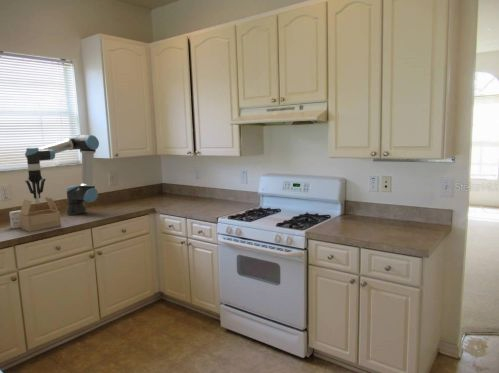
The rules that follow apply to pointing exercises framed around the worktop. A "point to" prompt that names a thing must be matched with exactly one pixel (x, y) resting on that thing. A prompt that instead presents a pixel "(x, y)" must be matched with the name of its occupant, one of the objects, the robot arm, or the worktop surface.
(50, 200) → the flap
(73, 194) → the robot arm
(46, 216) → the carton
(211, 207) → the worktop surface
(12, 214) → the ink box
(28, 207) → the flap
